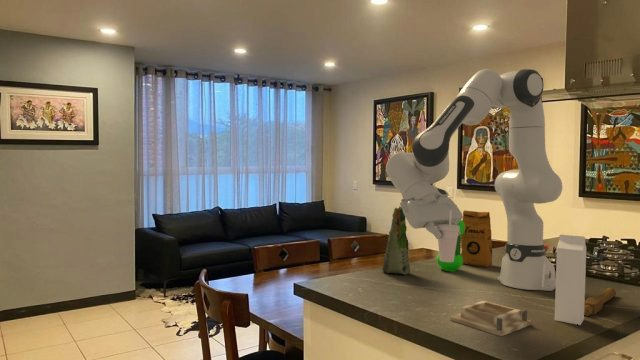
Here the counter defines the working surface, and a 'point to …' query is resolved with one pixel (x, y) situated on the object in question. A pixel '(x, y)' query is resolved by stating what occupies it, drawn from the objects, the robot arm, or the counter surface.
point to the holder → (492, 318)
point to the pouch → (397, 246)
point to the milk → (570, 279)
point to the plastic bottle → (457, 258)
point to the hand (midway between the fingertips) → (449, 236)
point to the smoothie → (448, 240)
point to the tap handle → (598, 301)
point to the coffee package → (476, 239)
